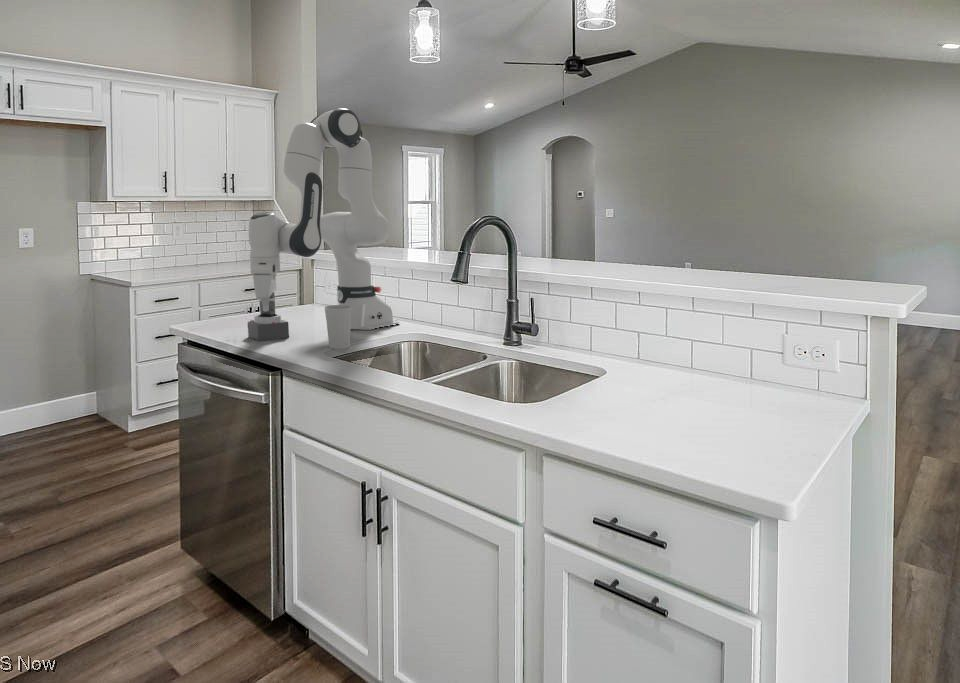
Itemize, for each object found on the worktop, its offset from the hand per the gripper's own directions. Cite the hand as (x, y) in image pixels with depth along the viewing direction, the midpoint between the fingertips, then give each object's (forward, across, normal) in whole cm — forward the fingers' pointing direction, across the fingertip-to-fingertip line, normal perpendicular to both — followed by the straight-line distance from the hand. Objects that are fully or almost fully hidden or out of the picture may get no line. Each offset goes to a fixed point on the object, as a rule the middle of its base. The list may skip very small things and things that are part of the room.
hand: (267, 309), depth 219 cm
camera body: (+9, 0, 0) cm, 9 cm away
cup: (+9, +17, +23) cm, 30 cm away
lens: (+4, 0, 0) cm, 4 cm away
